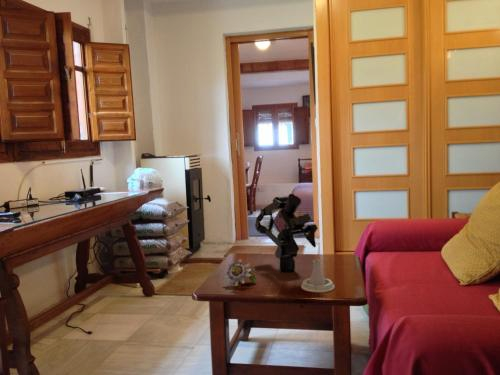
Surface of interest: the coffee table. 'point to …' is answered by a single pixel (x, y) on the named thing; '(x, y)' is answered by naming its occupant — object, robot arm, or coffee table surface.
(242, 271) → the passion flower
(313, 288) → the shaker seat
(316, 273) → the flask
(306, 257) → the coffee table surface
